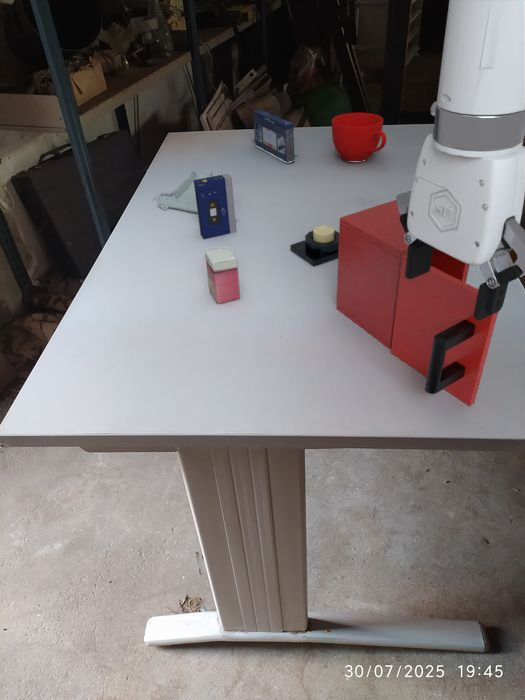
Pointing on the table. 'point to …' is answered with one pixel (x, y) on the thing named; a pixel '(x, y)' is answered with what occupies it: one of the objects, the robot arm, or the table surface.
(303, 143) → the table surface
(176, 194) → the metal bracket
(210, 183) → the cassette player
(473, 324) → the door
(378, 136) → the ceramic cup
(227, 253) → the small box
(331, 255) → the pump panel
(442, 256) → the cabinet
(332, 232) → the yellow button cap
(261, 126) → the vhs cassette tape
